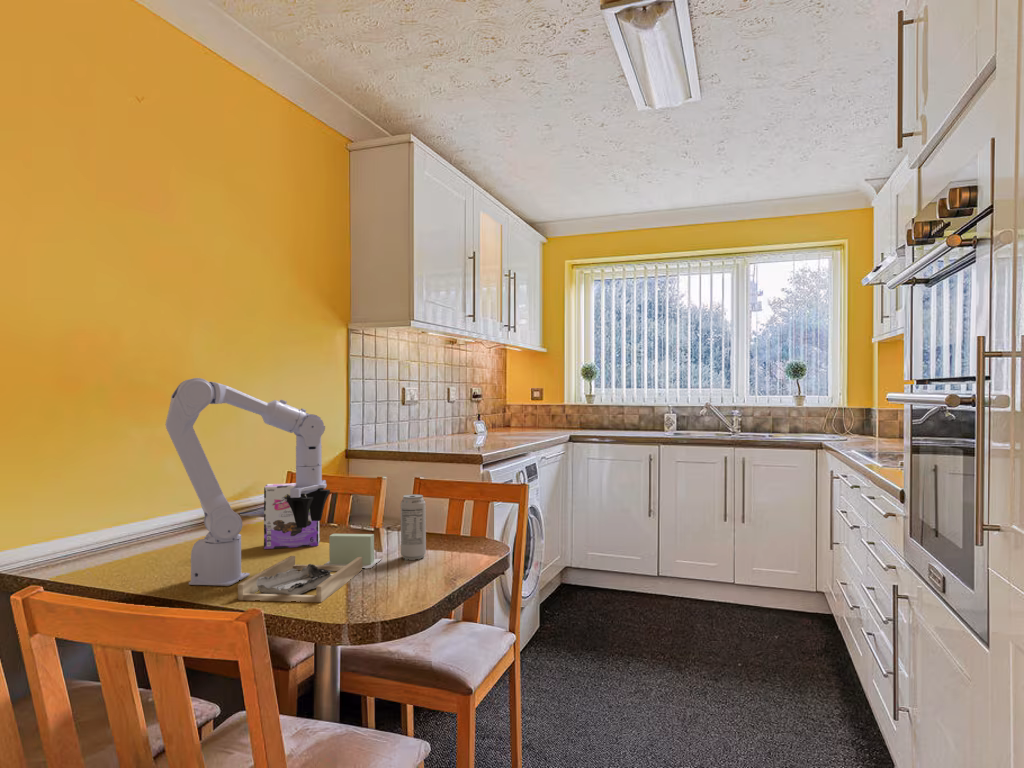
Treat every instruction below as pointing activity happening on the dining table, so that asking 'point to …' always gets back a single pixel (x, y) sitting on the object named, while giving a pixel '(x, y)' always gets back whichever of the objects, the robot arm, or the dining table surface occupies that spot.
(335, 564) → the light gray panel
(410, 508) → the energy drink can
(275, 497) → the candy box
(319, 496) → the robot arm
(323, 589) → the birch rack
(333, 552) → the pale green block
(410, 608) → the dining table surface
